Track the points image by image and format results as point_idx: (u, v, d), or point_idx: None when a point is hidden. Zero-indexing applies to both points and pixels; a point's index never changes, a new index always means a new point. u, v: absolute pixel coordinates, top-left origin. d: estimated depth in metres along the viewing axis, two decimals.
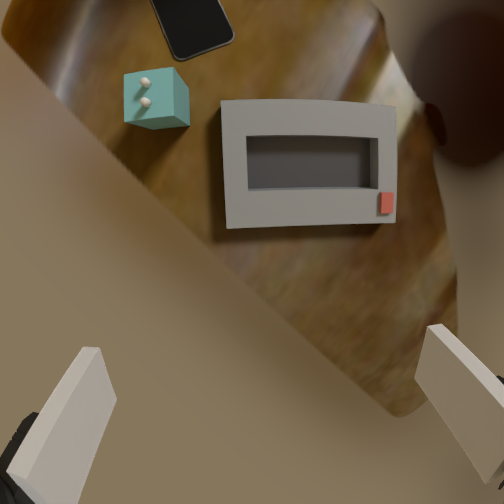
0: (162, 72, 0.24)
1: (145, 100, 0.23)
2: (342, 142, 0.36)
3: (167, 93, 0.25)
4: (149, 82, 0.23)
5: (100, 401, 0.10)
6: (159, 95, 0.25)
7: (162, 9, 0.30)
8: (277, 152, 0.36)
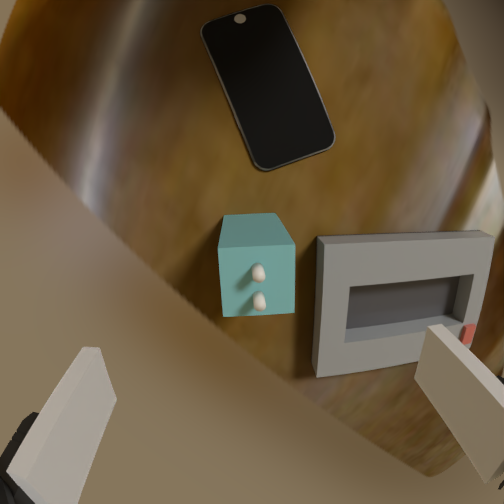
0: (279, 251, 0.19)
1: (262, 305, 0.18)
2: None
3: (286, 283, 0.20)
4: (264, 273, 0.19)
5: (100, 401, 0.10)
6: (275, 285, 0.20)
7: (233, 84, 0.25)
8: (373, 291, 0.31)
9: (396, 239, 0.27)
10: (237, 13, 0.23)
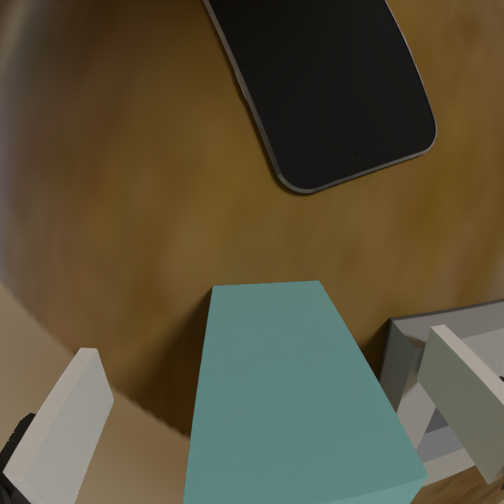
0: (380, 499, 0.04)
1: None
2: None
3: None
4: None
5: (97, 402, 0.10)
6: None
7: (234, 11, 0.10)
8: None
9: None
10: None
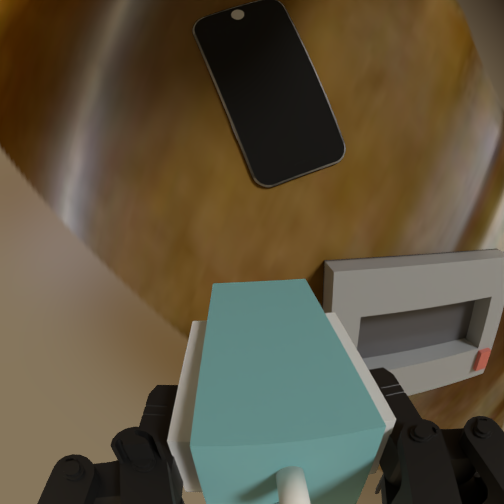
0: (346, 444, 0.06)
1: None
2: None
3: (349, 483, 0.07)
4: None
5: None
6: (324, 489, 0.07)
7: (230, 88, 0.22)
8: (385, 318, 0.28)
9: (412, 263, 0.24)
10: (234, 8, 0.20)
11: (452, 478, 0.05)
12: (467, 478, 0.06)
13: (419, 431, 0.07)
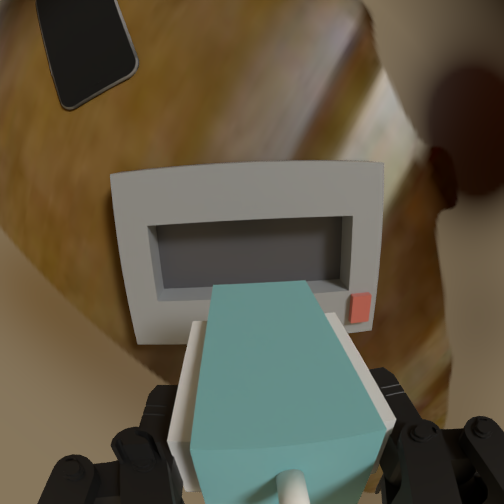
0: (347, 447, 0.06)
1: None
2: (299, 218, 0.26)
3: (349, 486, 0.07)
4: None
5: None
6: (325, 492, 0.07)
7: (51, 37, 0.19)
8: (201, 239, 0.26)
9: (206, 164, 0.22)
10: None
11: (452, 478, 0.05)
12: (467, 478, 0.06)
13: (419, 431, 0.07)
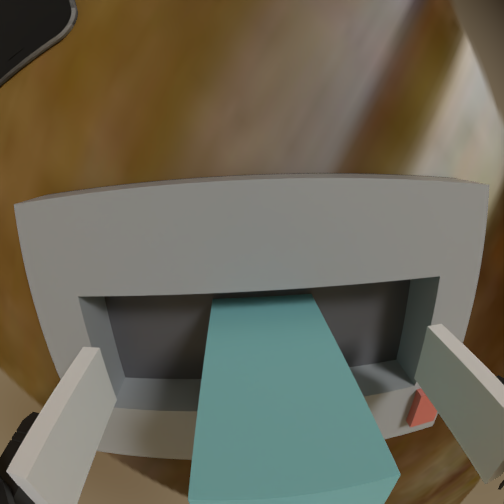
0: (357, 493, 0.05)
1: None
2: None
3: None
4: None
5: (100, 401, 0.10)
6: None
7: None
8: (177, 309, 0.15)
9: (178, 182, 0.11)
10: None
11: None
12: None
13: None
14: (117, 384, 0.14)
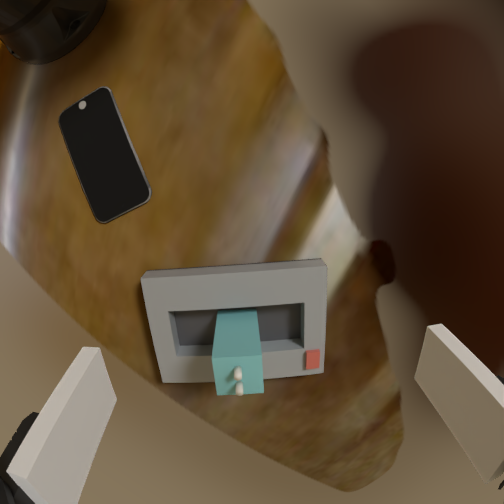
0: (251, 359, 0.28)
1: (241, 392, 0.27)
2: None
3: (257, 376, 0.29)
4: (241, 373, 0.28)
5: (100, 401, 0.10)
6: (250, 377, 0.29)
7: (78, 160, 0.32)
8: (204, 315, 0.38)
9: (205, 273, 0.34)
10: (80, 100, 0.30)
11: None
12: None
13: None
14: (177, 347, 0.37)
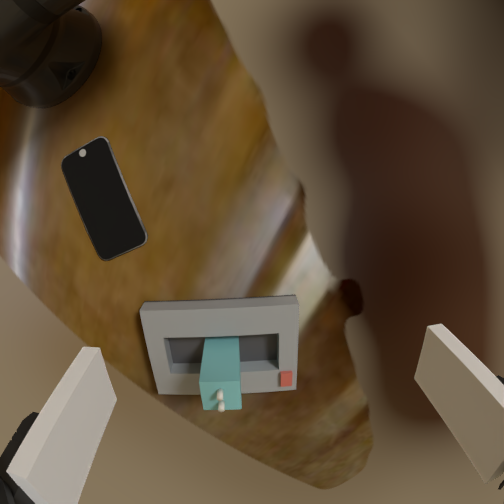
0: (231, 384, 0.34)
1: (222, 409, 0.33)
2: None
3: (236, 396, 0.34)
4: (223, 395, 0.33)
5: (100, 401, 0.10)
6: (230, 397, 0.34)
7: (81, 204, 0.37)
8: (193, 339, 0.43)
9: (194, 307, 0.40)
10: (81, 148, 0.35)
11: None
12: None
13: None
14: (171, 365, 0.43)
